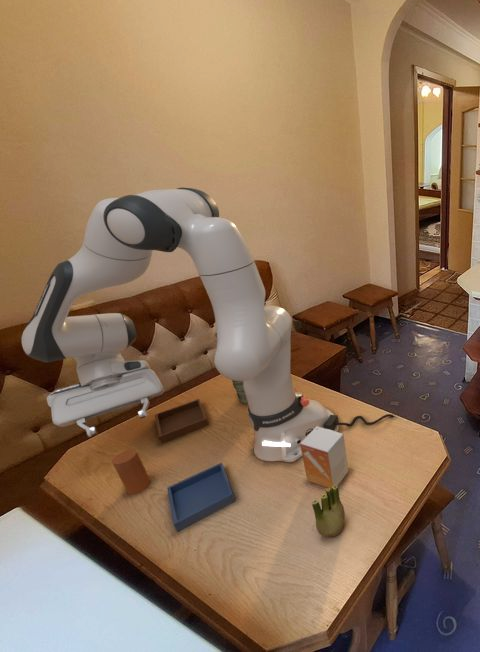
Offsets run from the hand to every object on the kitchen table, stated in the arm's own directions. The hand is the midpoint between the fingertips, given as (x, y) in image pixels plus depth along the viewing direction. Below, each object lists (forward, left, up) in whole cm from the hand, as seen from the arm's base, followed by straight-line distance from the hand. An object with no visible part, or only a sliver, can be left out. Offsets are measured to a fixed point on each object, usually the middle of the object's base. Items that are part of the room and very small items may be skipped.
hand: (119, 426), depth 89 cm
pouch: (-31, -10, -13) cm, 35 cm away
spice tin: (0, +9, -13) cm, 16 cm away
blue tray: (-11, +23, -13) cm, 29 cm away
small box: (-36, +37, -13) cm, 53 cm away
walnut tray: (-11, -10, -13) cm, 20 cm away
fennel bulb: (-31, +51, -13) cm, 61 cm away
